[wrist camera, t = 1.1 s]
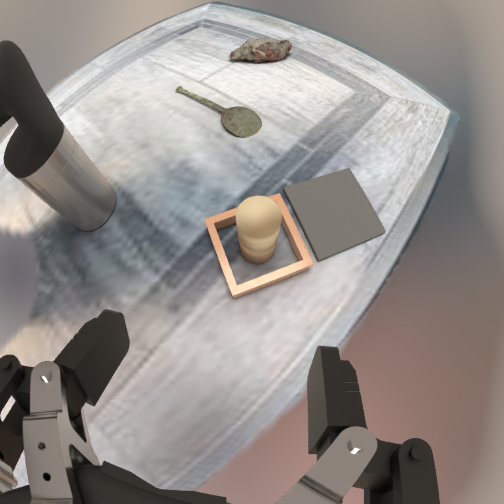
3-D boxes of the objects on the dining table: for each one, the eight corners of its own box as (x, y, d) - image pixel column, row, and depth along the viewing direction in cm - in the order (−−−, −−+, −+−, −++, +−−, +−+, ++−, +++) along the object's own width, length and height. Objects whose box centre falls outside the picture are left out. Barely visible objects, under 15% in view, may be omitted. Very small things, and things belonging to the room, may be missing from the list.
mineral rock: (228, 65, 52) (227, 50, 48) (232, 50, 54) (231, 37, 50) (292, 67, 52) (294, 52, 47) (290, 52, 54) (291, 39, 50)
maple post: (235, 238, 38) (229, 204, 28) (266, 226, 39) (271, 190, 29) (247, 269, 37) (245, 244, 27) (280, 256, 37) (289, 228, 28)
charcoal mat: (283, 190, 40) (283, 187, 40) (347, 170, 42) (349, 168, 41) (317, 261, 37) (319, 259, 36) (383, 233, 38) (385, 231, 37)
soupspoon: (244, 147, 44) (268, 129, 46) (244, 134, 41) (270, 116, 43) (167, 99, 48) (190, 84, 50) (164, 87, 45) (189, 73, 47)
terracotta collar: (207, 226, 39) (204, 219, 36) (278, 201, 40) (279, 193, 37) (233, 298, 35) (232, 295, 33) (309, 268, 37) (313, 263, 34)
